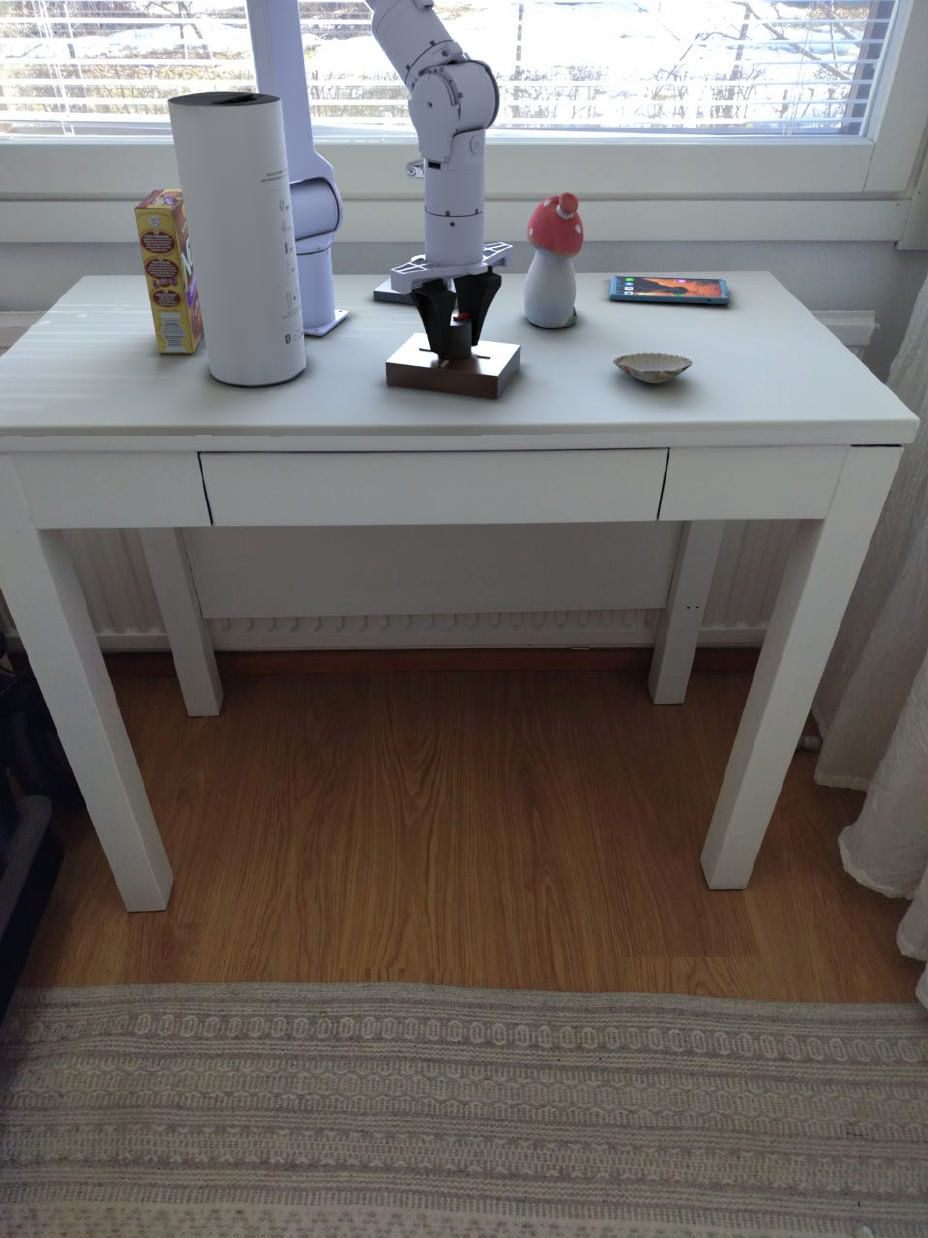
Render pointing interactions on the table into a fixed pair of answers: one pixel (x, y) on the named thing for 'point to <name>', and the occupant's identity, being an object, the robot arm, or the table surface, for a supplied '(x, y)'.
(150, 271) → the candy box
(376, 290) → the switch base
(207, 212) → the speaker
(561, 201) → the decorative ornament
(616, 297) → the smartphone
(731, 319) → the table surface
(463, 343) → the dial
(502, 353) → the dial panel
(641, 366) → the seashell
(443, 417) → the table surface
